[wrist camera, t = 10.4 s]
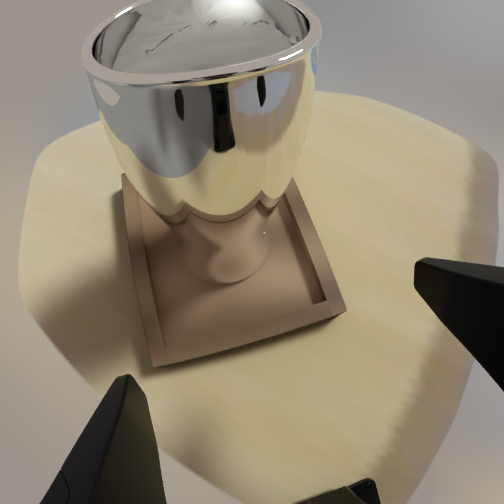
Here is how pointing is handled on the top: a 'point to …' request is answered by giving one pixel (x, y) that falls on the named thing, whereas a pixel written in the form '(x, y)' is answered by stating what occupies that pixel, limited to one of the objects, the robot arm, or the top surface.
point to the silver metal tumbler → (208, 117)
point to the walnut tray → (227, 285)
